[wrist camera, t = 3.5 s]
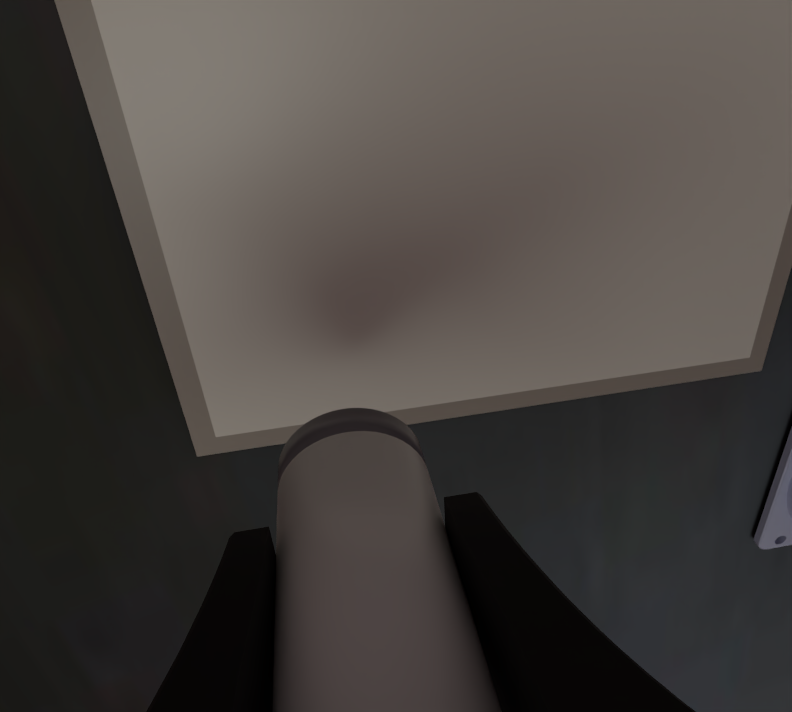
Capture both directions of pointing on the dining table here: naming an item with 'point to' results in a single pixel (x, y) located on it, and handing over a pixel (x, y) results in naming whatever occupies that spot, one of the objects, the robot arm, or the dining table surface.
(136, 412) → the dining table surface
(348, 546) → the marker
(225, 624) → the robot arm
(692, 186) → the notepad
